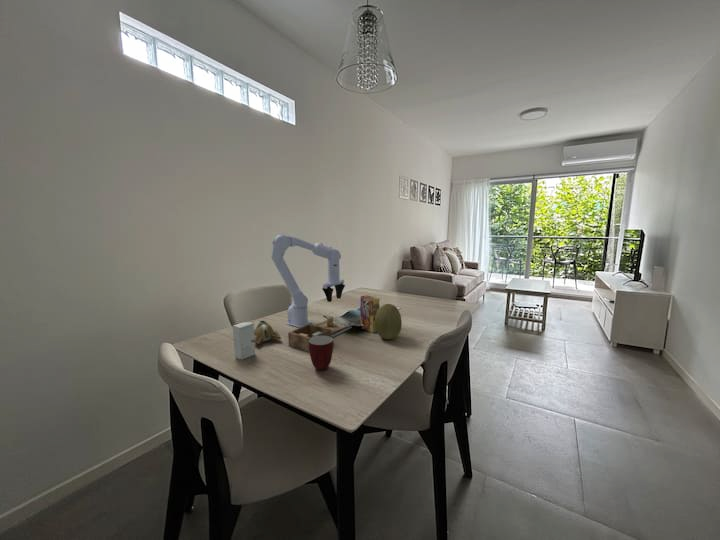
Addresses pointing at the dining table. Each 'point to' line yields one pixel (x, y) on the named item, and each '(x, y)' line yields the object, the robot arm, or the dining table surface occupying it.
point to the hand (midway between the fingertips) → (334, 299)
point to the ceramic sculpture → (264, 332)
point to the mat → (340, 332)
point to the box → (303, 341)
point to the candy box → (369, 312)
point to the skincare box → (244, 340)
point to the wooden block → (331, 325)
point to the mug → (321, 351)
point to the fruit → (388, 321)
